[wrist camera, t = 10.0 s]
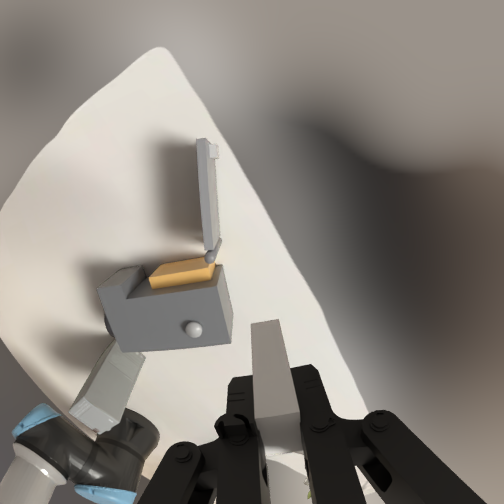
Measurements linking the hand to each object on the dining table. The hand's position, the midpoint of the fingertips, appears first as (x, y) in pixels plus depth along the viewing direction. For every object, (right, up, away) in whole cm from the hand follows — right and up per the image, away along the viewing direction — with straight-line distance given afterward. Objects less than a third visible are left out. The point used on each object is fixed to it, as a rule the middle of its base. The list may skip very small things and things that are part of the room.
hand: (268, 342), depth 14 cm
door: (-6, +13, +21) cm, 26 cm away
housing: (-13, 0, +25) cm, 28 cm away
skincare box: (-24, -14, +29) cm, 40 cm away
